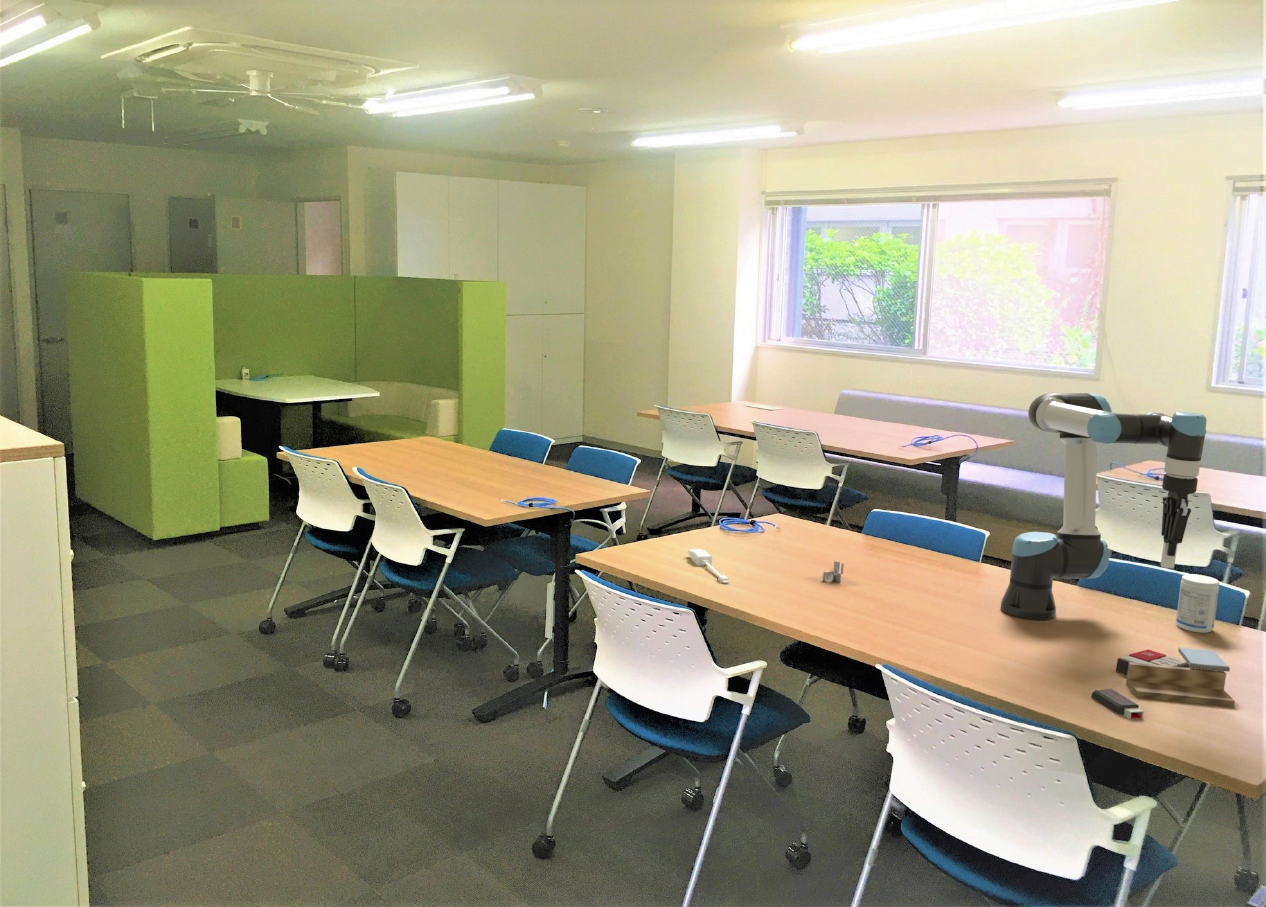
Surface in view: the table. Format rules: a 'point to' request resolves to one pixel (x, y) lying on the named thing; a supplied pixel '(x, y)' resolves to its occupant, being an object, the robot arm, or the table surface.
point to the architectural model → (834, 573)
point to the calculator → (1148, 660)
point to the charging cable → (705, 562)
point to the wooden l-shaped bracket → (1178, 684)
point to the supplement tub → (1197, 603)
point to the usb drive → (1118, 703)
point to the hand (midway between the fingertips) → (1167, 566)
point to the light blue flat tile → (1203, 659)
